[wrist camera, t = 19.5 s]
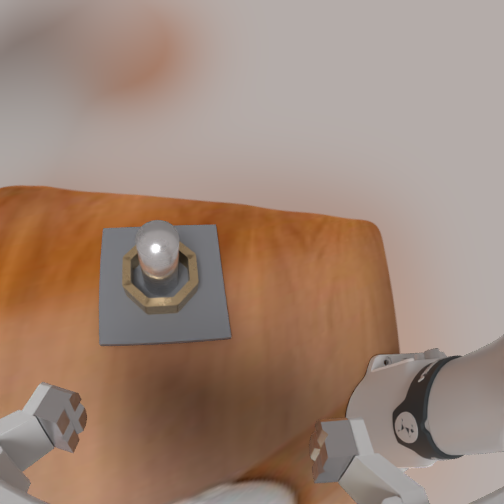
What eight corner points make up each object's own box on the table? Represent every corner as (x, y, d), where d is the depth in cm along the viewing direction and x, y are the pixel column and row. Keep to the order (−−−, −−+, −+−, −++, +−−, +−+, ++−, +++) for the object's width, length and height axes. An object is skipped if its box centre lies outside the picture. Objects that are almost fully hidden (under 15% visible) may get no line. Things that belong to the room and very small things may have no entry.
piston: (176, 263, 40) (178, 219, 32) (179, 295, 38) (180, 257, 30) (143, 264, 39) (135, 221, 30) (144, 296, 37) (135, 259, 28)
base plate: (215, 228, 45) (215, 224, 44) (230, 338, 38) (231, 337, 37) (104, 232, 41) (103, 228, 40) (101, 346, 34) (99, 344, 33)
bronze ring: (192, 247, 42) (194, 235, 39) (199, 311, 38) (200, 303, 35) (126, 249, 39) (123, 238, 37) (126, 315, 35) (122, 307, 33)
